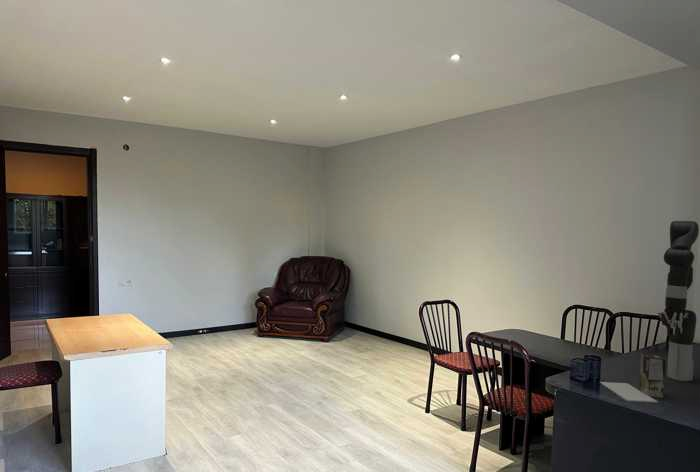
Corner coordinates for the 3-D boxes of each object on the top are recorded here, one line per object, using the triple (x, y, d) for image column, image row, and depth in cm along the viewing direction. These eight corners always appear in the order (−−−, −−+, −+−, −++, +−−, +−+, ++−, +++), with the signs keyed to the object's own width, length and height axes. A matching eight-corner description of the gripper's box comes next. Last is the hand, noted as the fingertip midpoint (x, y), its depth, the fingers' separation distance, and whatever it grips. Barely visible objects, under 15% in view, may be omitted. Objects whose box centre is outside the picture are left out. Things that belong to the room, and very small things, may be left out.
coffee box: (663, 398, 201) (666, 360, 200) (647, 396, 202) (649, 358, 202) (654, 390, 210) (657, 354, 209) (638, 389, 211) (640, 352, 211)
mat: (627, 384, 217) (627, 383, 217) (657, 402, 195) (657, 401, 195) (599, 383, 217) (599, 381, 217) (627, 401, 195) (627, 400, 195)
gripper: (686, 295, 208) (683, 335, 209) (654, 294, 208) (651, 333, 209) (698, 298, 201) (696, 339, 201) (665, 296, 201) (662, 337, 202)
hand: (673, 336), depth 205 cm, fingers closed
